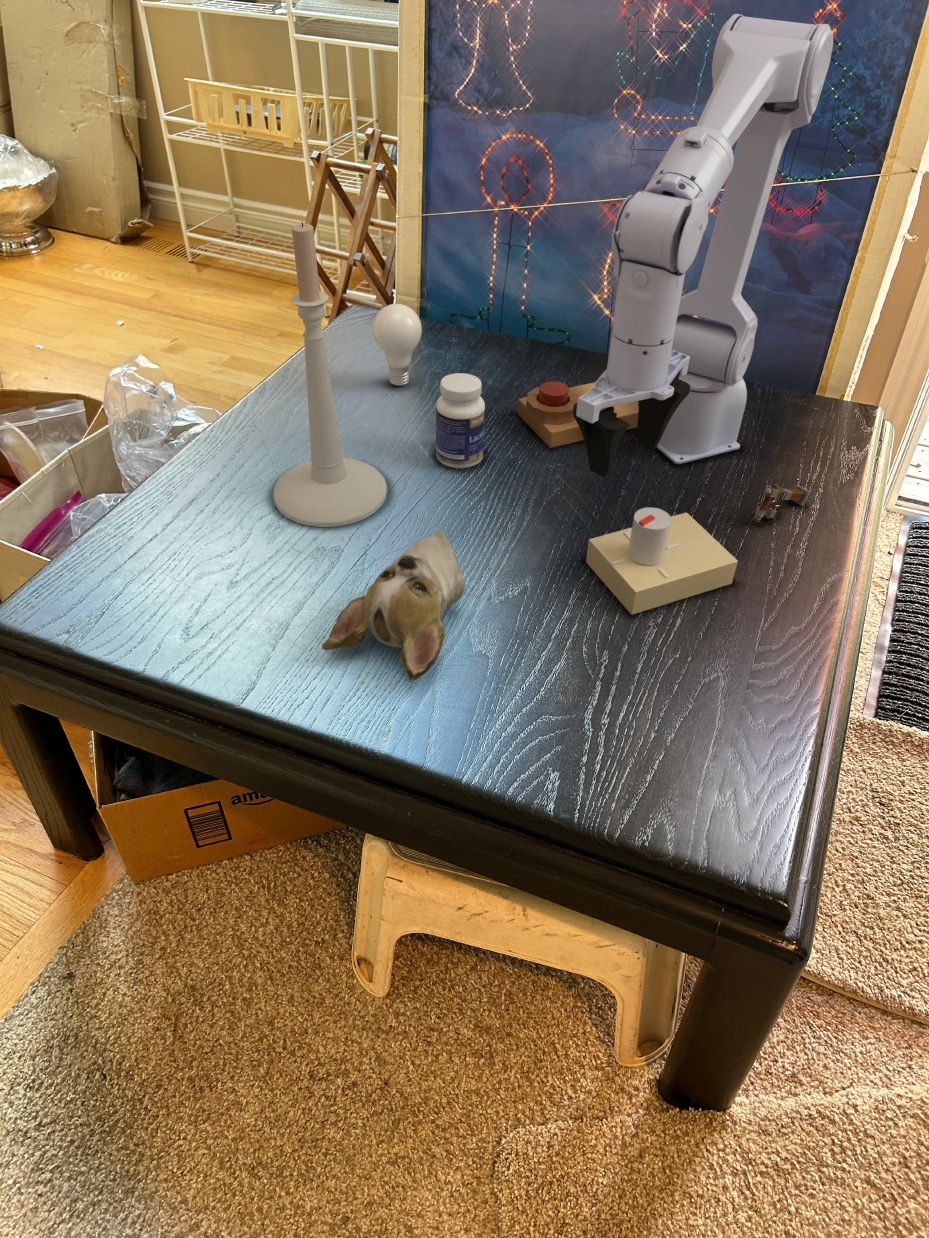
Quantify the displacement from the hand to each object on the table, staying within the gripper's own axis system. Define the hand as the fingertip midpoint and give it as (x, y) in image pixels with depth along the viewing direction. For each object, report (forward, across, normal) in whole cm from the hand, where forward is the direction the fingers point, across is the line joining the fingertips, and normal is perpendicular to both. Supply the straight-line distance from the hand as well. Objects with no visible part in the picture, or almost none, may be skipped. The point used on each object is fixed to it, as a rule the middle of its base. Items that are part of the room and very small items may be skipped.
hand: (623, 458), depth 92 cm
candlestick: (+9, -19, +26) cm, 33 cm away
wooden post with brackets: (+9, +16, -11) cm, 21 cm away
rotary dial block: (+9, -2, -8) cm, 12 cm away
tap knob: (+6, -4, -7) cm, 10 cm away
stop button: (+5, +11, +19) cm, 23 cm away
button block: (+9, +15, +18) cm, 25 cm away
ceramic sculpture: (+9, -27, +2) cm, 29 cm away
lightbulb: (+9, +3, +40) cm, 41 cm away
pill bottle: (+9, -3, +22) cm, 24 cm away
